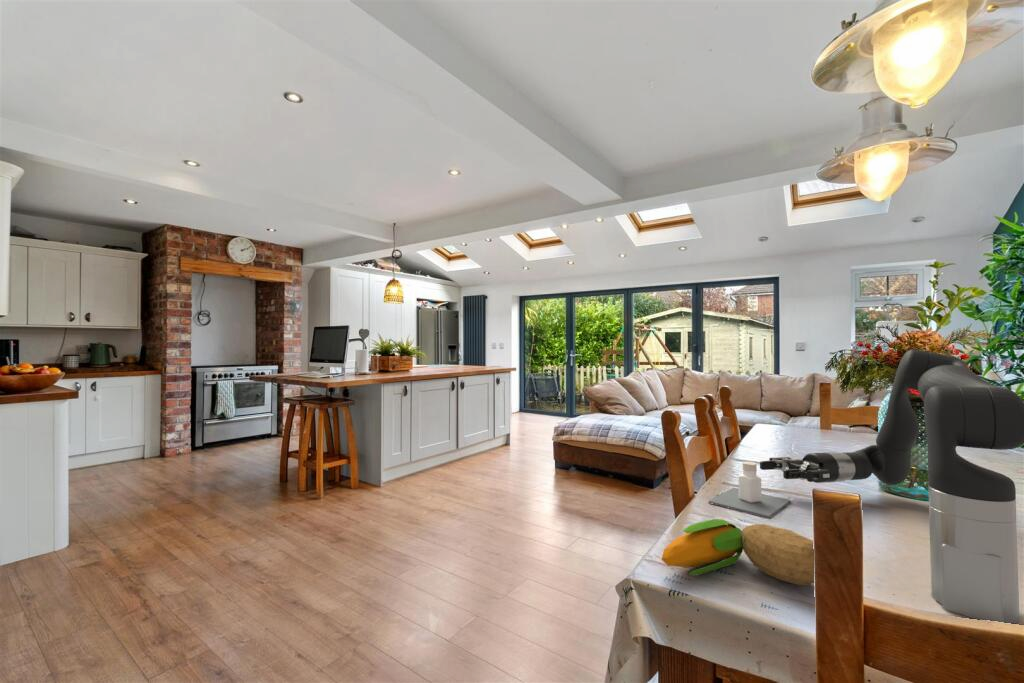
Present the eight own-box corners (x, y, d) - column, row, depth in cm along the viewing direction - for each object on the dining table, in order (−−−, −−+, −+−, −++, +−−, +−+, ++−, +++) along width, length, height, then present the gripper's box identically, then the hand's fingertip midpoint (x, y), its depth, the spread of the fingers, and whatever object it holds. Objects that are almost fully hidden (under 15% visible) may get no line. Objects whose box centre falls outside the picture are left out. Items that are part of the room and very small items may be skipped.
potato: (761, 554, 84) (760, 512, 84) (843, 590, 71) (842, 541, 71) (726, 566, 80) (725, 521, 80) (807, 606, 67) (805, 553, 67)
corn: (755, 519, 81) (680, 542, 72) (759, 562, 81) (683, 590, 71) (720, 509, 88) (646, 529, 78) (723, 549, 87) (649, 574, 78)
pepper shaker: (762, 501, 111) (762, 464, 111) (751, 503, 110) (750, 465, 110) (749, 497, 115) (748, 460, 115) (737, 498, 114) (737, 461, 114)
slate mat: (769, 518, 102) (769, 515, 102) (708, 503, 112) (708, 500, 112) (790, 502, 112) (790, 499, 113) (733, 489, 123) (733, 487, 123)
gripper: (806, 446, 123) (753, 449, 120) (852, 459, 108) (792, 462, 106) (807, 473, 122) (753, 476, 120) (853, 490, 108) (793, 493, 106)
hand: (772, 469), depth 113 cm, fingers open, 8 cm apart
